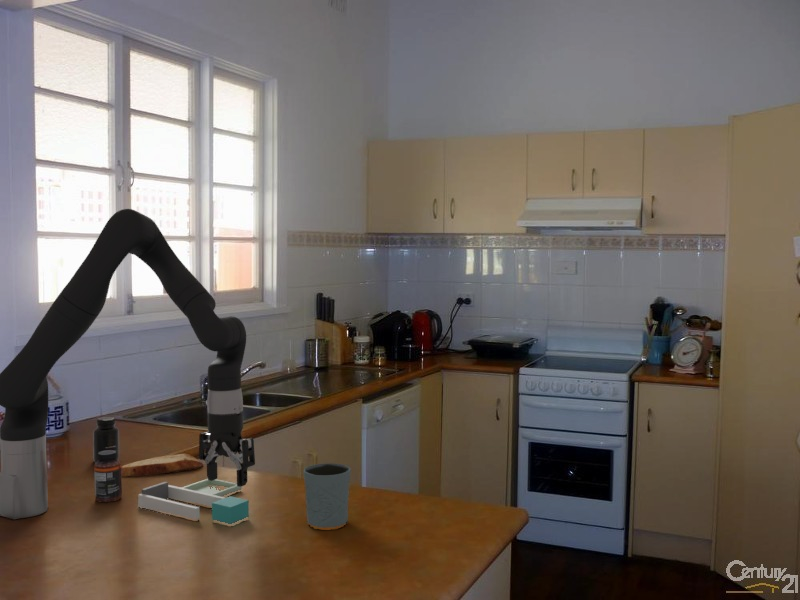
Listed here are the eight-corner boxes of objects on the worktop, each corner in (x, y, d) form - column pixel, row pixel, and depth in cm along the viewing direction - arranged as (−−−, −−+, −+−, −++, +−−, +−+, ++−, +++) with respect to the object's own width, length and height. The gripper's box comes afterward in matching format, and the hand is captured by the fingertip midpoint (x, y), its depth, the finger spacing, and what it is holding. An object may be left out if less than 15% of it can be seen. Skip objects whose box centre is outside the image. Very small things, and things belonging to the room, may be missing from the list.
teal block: (230, 528, 168) (230, 507, 167) (212, 523, 170) (211, 502, 170) (248, 520, 172) (248, 500, 172) (230, 516, 175) (230, 496, 175)
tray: (209, 503, 183) (209, 495, 183) (177, 496, 189) (177, 488, 189) (241, 491, 192) (241, 484, 192) (210, 484, 198) (210, 477, 198)
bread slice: (111, 476, 207) (111, 462, 206) (155, 459, 223) (155, 446, 223) (168, 483, 200) (167, 469, 200) (209, 465, 217) (209, 452, 217)
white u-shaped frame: (196, 522, 171) (195, 504, 170) (138, 507, 180) (138, 490, 180) (225, 510, 178) (225, 493, 178) (168, 497, 188) (168, 480, 188)
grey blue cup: (307, 533, 164) (307, 477, 163) (300, 517, 174) (300, 464, 173) (355, 529, 167) (355, 473, 166) (345, 513, 176) (345, 460, 175)
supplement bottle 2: (110, 493, 191) (109, 447, 190) (127, 497, 188) (126, 450, 187) (89, 500, 185) (88, 453, 185) (106, 504, 182) (105, 456, 182)
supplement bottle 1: (110, 464, 216) (109, 421, 216) (88, 463, 218) (87, 420, 217) (124, 458, 223) (123, 416, 222) (102, 456, 224) (101, 415, 224)
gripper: (188, 409, 171) (190, 482, 172) (237, 415, 164) (239, 492, 165) (213, 403, 178) (215, 473, 179) (261, 409, 170) (263, 483, 171)
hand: (227, 482), depth 172 cm, fingers open, 8 cm apart
